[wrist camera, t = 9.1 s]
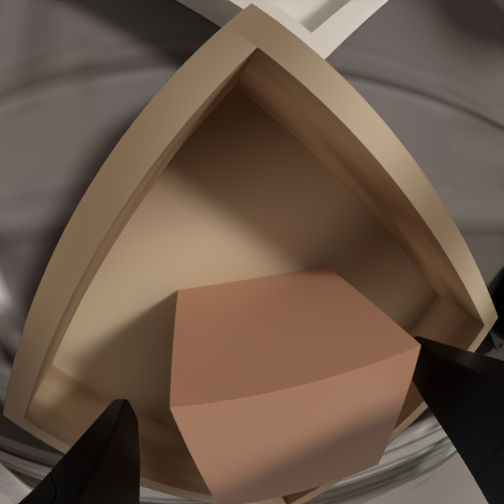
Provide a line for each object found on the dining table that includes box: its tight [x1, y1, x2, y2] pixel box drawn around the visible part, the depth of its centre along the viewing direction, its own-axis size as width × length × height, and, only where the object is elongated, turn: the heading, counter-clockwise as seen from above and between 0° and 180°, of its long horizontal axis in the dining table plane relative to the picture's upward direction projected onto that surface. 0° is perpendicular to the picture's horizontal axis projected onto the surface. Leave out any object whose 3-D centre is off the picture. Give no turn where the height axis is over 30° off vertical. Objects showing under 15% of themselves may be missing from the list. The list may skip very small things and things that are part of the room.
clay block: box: [170, 266, 421, 504], centre depth 8 cm, size 5×5×5 cm
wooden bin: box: [3, 3, 498, 504], centre depth 9 cm, size 14×14×4 cm
